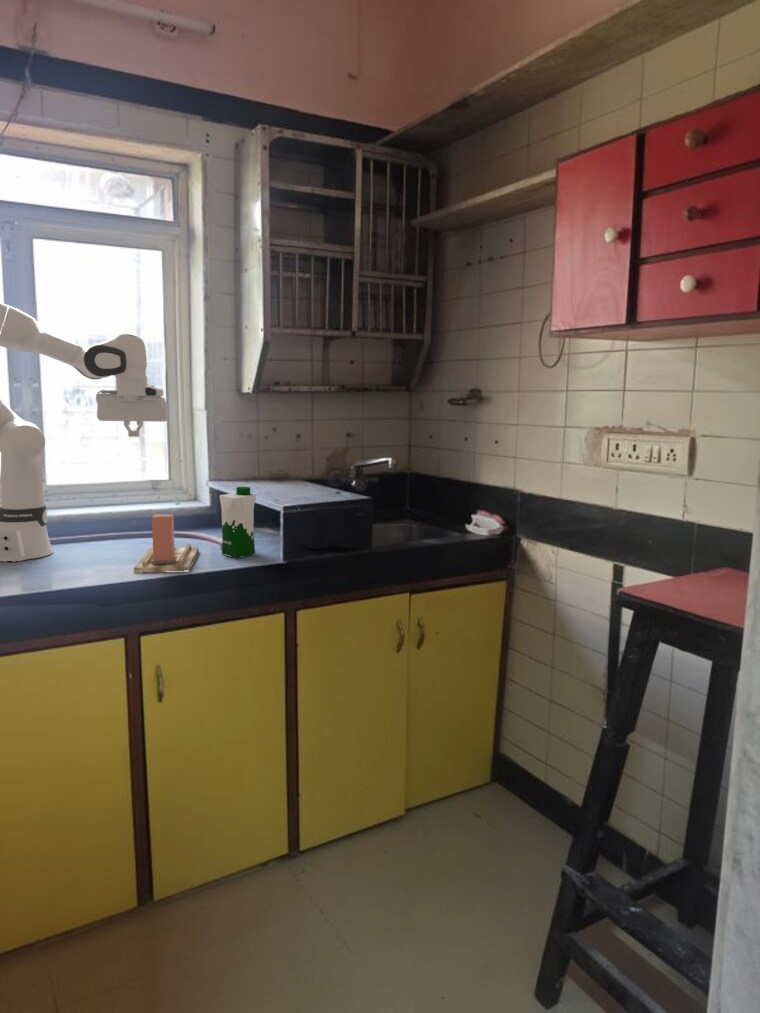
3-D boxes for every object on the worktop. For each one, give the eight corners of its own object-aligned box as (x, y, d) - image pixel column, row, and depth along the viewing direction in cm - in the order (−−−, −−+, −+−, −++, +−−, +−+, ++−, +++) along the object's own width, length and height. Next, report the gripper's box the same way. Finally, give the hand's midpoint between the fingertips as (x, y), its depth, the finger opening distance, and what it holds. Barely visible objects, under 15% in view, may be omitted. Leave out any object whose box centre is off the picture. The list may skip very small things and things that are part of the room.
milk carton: (259, 554, 210) (258, 488, 207) (233, 559, 203) (232, 491, 200) (242, 549, 216) (241, 485, 213) (217, 554, 210) (215, 487, 206)
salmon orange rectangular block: (151, 563, 189) (149, 517, 187) (154, 559, 194) (152, 513, 192) (174, 563, 190) (172, 517, 188) (176, 559, 195) (175, 513, 193)
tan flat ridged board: (134, 573, 186) (133, 563, 186) (150, 552, 210) (150, 544, 209) (188, 572, 188) (188, 562, 188) (198, 552, 212) (198, 543, 211)
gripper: (92, 389, 205) (95, 436, 207) (165, 390, 208) (166, 437, 210) (98, 389, 211) (100, 435, 213) (168, 390, 214) (170, 436, 216)
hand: (133, 436), depth 212 cm, fingers closed
